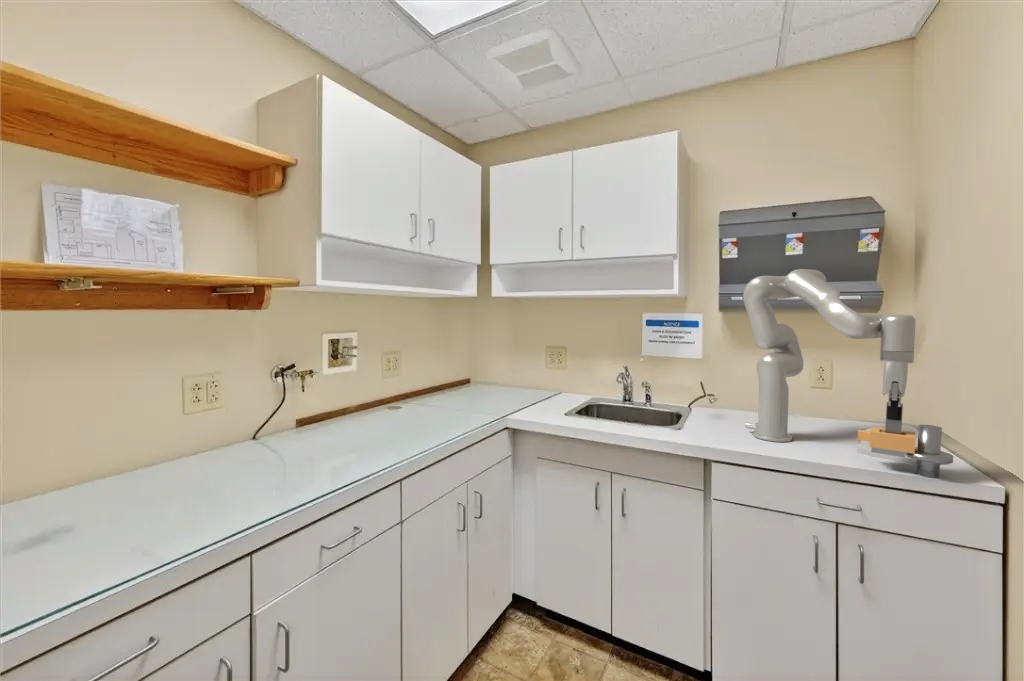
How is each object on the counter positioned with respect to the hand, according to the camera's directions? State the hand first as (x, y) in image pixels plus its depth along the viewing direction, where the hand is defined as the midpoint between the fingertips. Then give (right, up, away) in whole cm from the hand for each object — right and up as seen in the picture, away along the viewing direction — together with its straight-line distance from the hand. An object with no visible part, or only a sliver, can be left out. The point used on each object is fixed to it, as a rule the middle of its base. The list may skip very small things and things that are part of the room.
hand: (894, 418), depth 132 cm
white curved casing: (+9, -15, +11) cm, 21 cm away
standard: (+3, -15, -2) cm, 16 cm away
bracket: (-1, -8, +2) cm, 9 cm away
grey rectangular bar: (0, -6, 0) cm, 6 cm away
